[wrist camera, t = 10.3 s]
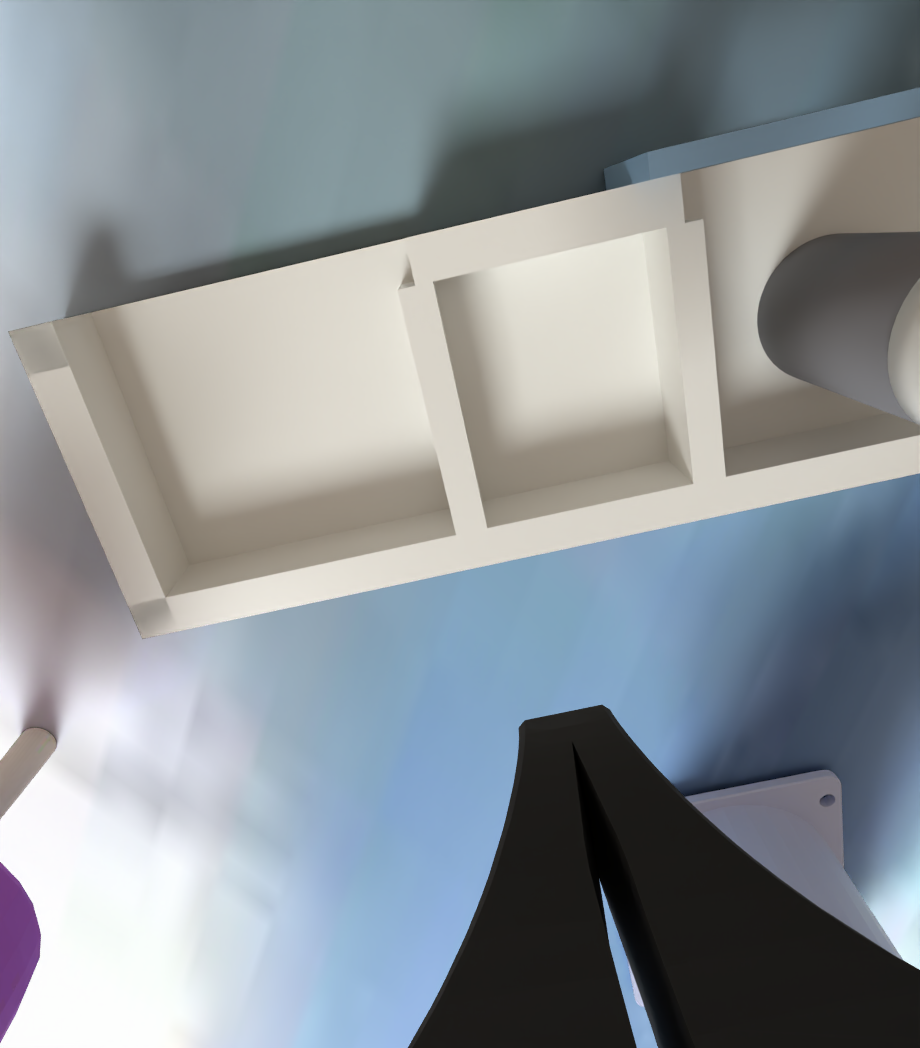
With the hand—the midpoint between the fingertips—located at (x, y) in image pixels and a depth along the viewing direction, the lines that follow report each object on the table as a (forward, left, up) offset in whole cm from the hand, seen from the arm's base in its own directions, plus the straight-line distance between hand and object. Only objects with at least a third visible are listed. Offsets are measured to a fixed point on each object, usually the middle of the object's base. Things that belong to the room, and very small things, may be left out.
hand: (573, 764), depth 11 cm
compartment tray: (+4, -2, -10) cm, 11 cm away
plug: (+4, -9, -10) cm, 14 cm away
